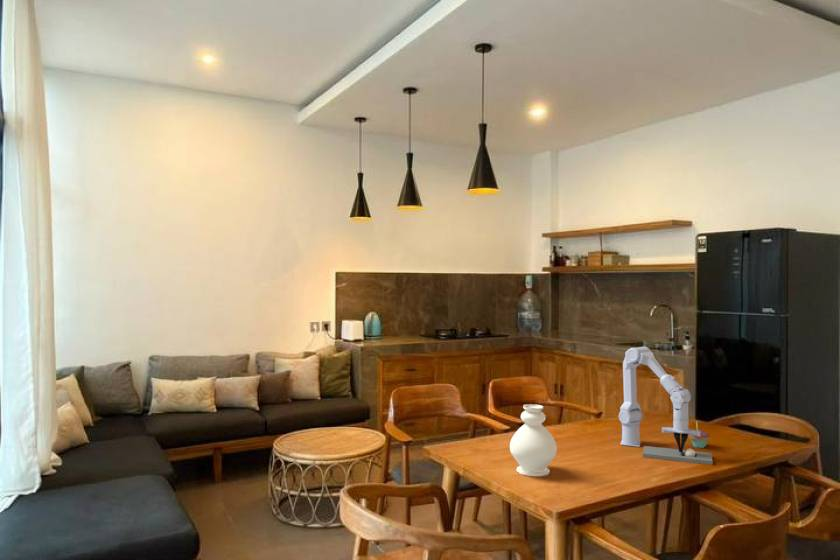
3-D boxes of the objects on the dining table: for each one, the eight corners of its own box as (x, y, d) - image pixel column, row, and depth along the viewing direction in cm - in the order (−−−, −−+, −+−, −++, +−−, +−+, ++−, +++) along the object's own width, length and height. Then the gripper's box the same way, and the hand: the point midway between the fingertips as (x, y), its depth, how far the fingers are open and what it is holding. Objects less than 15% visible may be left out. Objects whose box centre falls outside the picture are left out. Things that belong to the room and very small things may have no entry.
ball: (694, 458, 243) (683, 455, 245) (695, 448, 243) (685, 446, 245) (694, 460, 240) (684, 458, 241) (696, 450, 240) (685, 448, 241)
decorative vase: (565, 471, 226) (565, 406, 226) (539, 482, 214) (539, 413, 214) (527, 460, 239) (527, 399, 239) (500, 470, 227) (500, 406, 227)
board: (644, 449, 255) (644, 445, 255) (710, 456, 245) (710, 452, 245) (642, 457, 244) (642, 453, 244) (712, 464, 234) (712, 461, 234)
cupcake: (703, 450, 253) (703, 422, 253) (684, 445, 260) (684, 418, 260) (713, 446, 259) (713, 419, 258) (694, 442, 265) (694, 416, 265)
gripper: (661, 419, 243) (661, 452, 243) (700, 422, 237) (700, 456, 237) (662, 415, 249) (662, 447, 249) (699, 418, 243) (699, 451, 244)
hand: (680, 451), depth 244 cm, fingers closed
